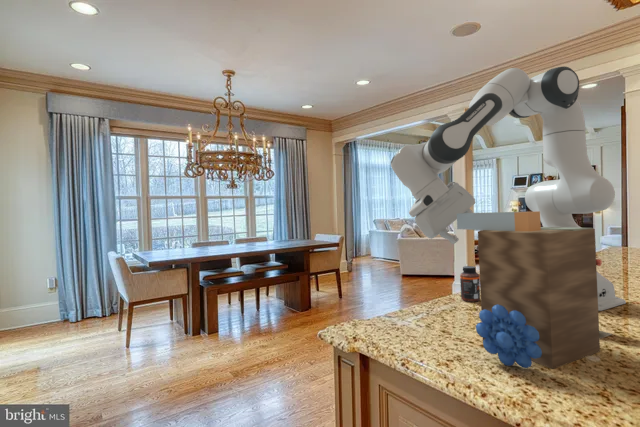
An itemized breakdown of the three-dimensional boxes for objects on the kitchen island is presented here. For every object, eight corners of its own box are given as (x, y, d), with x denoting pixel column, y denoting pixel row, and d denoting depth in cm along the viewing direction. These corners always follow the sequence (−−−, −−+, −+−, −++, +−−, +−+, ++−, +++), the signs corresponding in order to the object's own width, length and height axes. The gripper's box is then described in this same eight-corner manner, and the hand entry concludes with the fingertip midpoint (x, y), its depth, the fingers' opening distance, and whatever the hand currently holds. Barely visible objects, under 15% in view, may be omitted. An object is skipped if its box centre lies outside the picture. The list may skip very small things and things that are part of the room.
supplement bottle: (482, 302, 116) (480, 268, 116) (463, 302, 117) (461, 268, 117) (477, 298, 122) (476, 265, 122) (459, 297, 123) (458, 265, 123)
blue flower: (471, 367, 70) (468, 306, 70) (480, 355, 75) (477, 299, 75) (540, 382, 63) (537, 315, 63) (544, 367, 68) (541, 306, 68)
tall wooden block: (482, 342, 82) (477, 230, 82) (527, 329, 89) (523, 226, 89) (552, 368, 68) (546, 232, 68) (600, 351, 74) (594, 227, 74)
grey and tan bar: (457, 229, 90) (456, 213, 90) (468, 228, 92) (468, 212, 92) (528, 231, 73) (527, 212, 73) (540, 230, 75) (540, 211, 75)
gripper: (447, 184, 107) (477, 220, 105) (404, 216, 98) (437, 256, 95) (460, 174, 102) (492, 211, 100) (417, 206, 92) (451, 248, 90)
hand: (465, 233), depth 98 cm, fingers open, 8 cm apart
